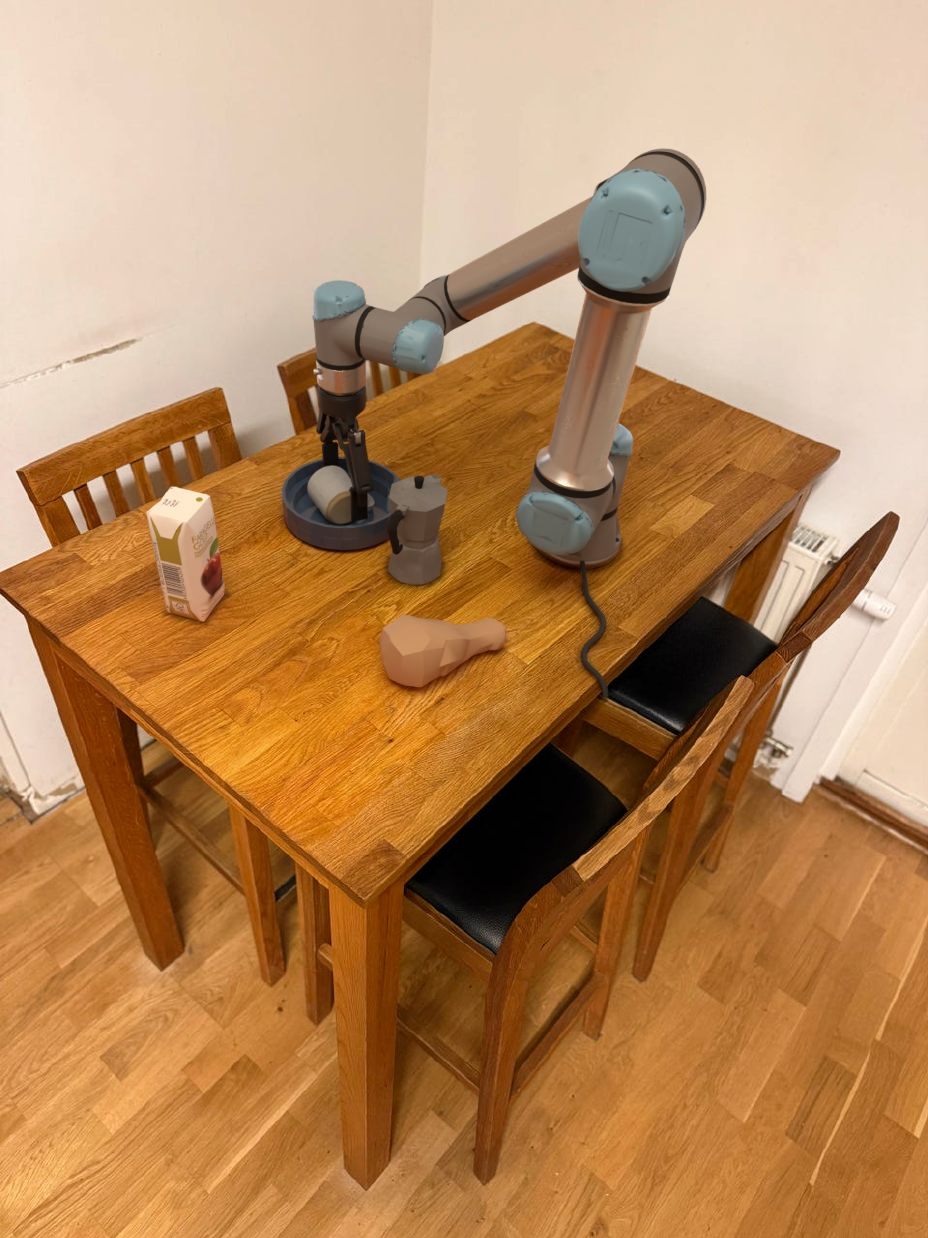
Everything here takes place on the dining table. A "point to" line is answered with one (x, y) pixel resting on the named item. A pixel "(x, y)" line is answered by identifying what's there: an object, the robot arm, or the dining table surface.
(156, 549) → the juice carton
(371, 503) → the ceramic mug
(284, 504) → the bowl
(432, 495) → the coffeepot
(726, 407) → the dining table surface
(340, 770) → the dining table surface
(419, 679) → the raw chicken drumstick
